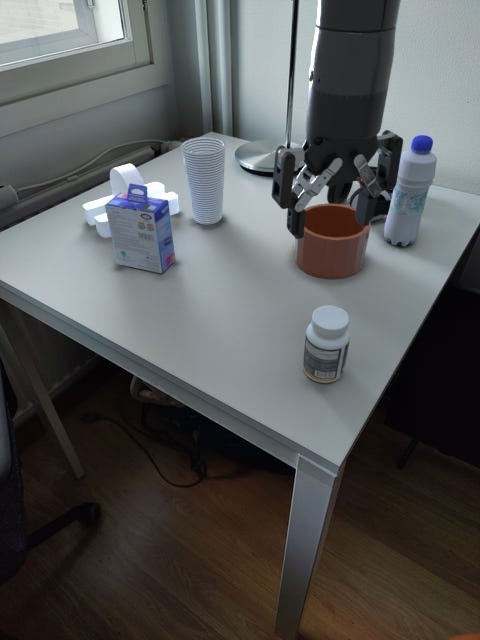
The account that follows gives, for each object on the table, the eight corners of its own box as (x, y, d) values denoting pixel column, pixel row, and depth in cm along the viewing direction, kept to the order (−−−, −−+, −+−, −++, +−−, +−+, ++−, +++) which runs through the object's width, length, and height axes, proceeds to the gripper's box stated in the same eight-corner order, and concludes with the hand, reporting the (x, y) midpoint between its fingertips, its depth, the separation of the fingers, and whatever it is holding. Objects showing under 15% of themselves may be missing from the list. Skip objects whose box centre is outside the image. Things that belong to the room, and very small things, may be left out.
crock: (363, 244, 89) (370, 206, 84) (362, 282, 80) (370, 243, 75) (298, 238, 91) (301, 200, 86) (290, 274, 82) (293, 235, 77)
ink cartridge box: (177, 258, 87) (168, 185, 77) (163, 275, 83) (152, 200, 73) (131, 249, 89) (116, 178, 80) (116, 264, 85) (99, 191, 76)
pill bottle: (319, 349, 68) (326, 296, 61) (351, 369, 65) (362, 316, 58) (294, 369, 65) (298, 316, 58) (326, 392, 62) (335, 338, 55)
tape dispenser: (85, 220, 98) (72, 171, 91) (159, 195, 106) (152, 149, 99) (104, 239, 92) (91, 188, 85) (181, 211, 100) (175, 163, 93)
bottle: (388, 227, 94) (411, 126, 80) (421, 237, 91) (450, 134, 77) (375, 242, 90) (396, 138, 76) (409, 253, 87) (437, 146, 73)
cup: (204, 232, 93) (198, 157, 83) (180, 217, 98) (171, 144, 88) (236, 218, 98) (234, 145, 87) (211, 204, 102) (206, 133, 92)
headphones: (315, 165, 97) (379, 153, 107) (308, 200, 102) (370, 186, 112) (378, 197, 86) (443, 181, 96) (367, 234, 91) (430, 215, 101)
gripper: (296, 100, 40) (286, 257, 51) (436, 82, 43) (399, 234, 54) (265, 78, 45) (262, 225, 56) (391, 64, 48) (366, 205, 59)
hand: (329, 229), depth 55 cm, fingers open, 8 cm apart
